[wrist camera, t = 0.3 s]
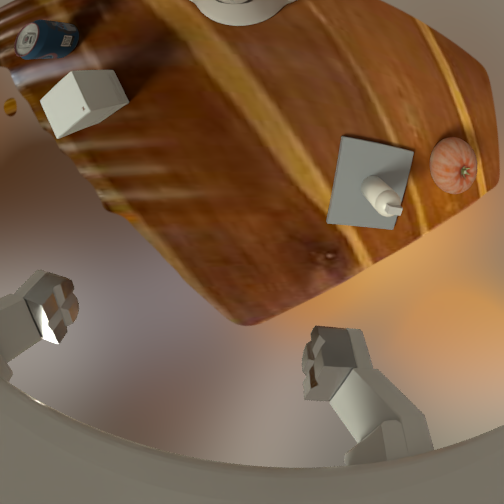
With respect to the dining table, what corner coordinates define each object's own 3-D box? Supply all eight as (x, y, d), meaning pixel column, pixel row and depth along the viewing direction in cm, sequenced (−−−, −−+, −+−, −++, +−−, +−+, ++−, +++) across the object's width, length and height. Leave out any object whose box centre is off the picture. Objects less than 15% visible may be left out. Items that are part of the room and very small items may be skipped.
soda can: (49, 56, 30) (7, 59, 20) (61, 24, 27) (20, 19, 17) (74, 59, 32) (32, 61, 22) (87, 25, 28) (46, 18, 18)
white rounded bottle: (363, 173, 44) (386, 195, 36) (385, 177, 44) (410, 199, 36) (358, 196, 46) (379, 222, 38) (379, 199, 46) (402, 225, 38)
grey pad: (341, 135, 41) (343, 136, 40) (411, 150, 42) (413, 152, 41) (326, 220, 50) (327, 223, 49) (391, 227, 51) (392, 229, 50)
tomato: (422, 188, 46) (444, 206, 39) (419, 135, 40) (443, 146, 33) (461, 180, 44) (484, 196, 37) (460, 130, 38) (486, 141, 32)
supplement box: (114, 68, 34) (72, 68, 24) (130, 102, 38) (91, 112, 27) (82, 91, 36) (38, 100, 25) (98, 124, 40) (56, 140, 29)
